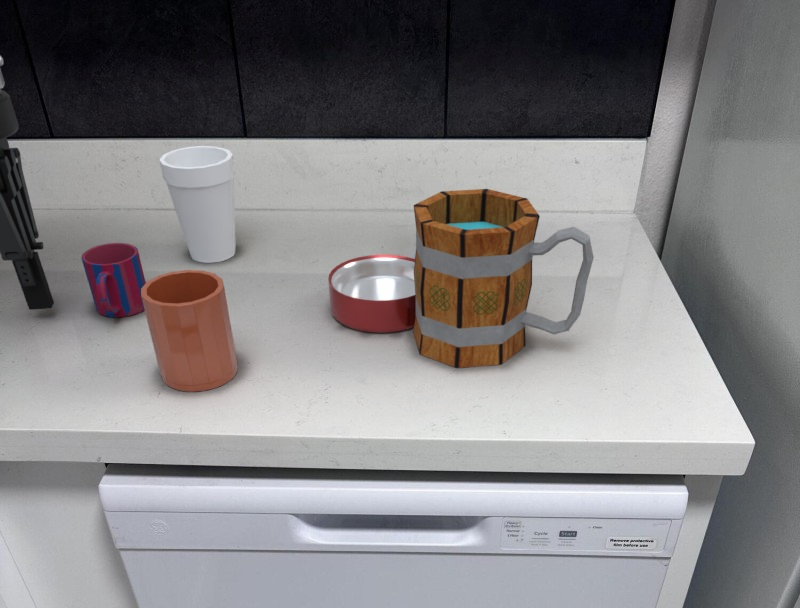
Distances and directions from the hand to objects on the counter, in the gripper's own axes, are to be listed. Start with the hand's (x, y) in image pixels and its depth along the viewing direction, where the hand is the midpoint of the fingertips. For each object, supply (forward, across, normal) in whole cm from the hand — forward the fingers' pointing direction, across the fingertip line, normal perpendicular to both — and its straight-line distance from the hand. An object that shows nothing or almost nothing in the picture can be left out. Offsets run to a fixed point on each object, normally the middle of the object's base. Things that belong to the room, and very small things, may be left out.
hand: (41, 306), depth 97 cm
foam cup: (+2, +17, -20) cm, 26 cm away
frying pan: (+2, +4, -46) cm, 46 cm away
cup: (+2, 0, -9) cm, 9 cm away
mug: (+2, -14, -54) cm, 56 cm away
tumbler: (+2, -16, -20) cm, 26 cm away
